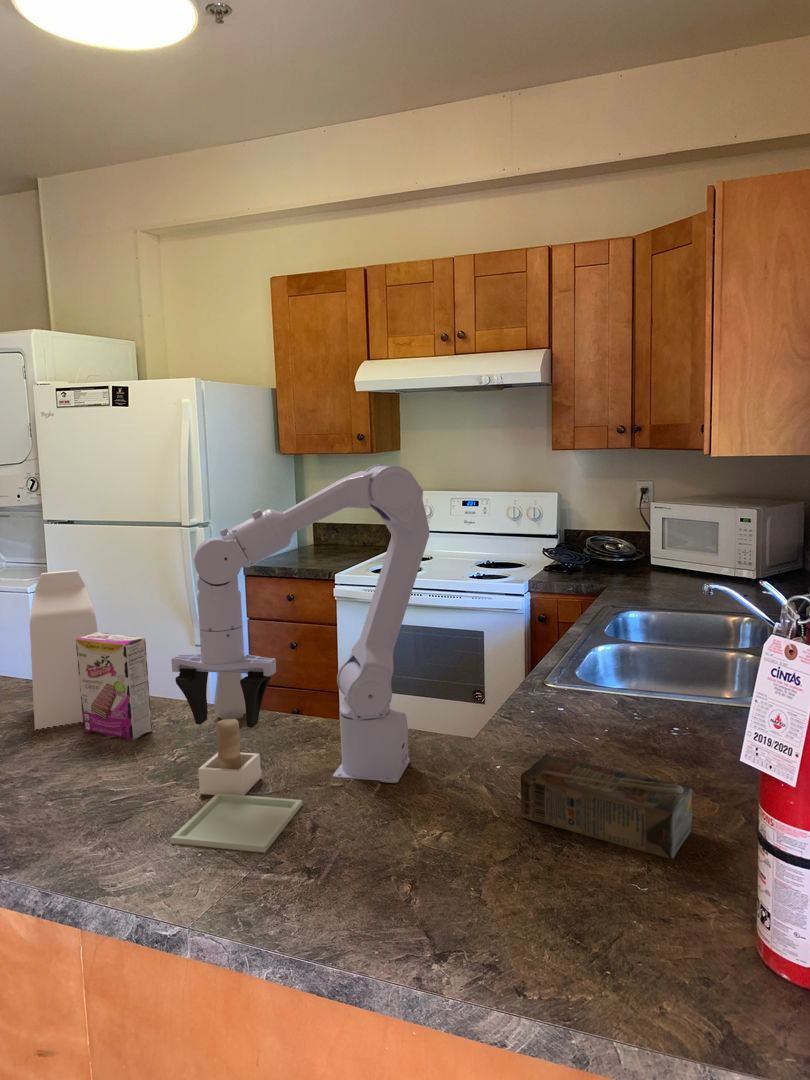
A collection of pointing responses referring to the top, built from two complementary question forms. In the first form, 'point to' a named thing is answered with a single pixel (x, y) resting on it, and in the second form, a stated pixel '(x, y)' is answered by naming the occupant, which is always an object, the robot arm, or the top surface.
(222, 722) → the dowel
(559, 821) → the beverage carton
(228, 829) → the tray
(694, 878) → the top surface
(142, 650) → the candy bar box
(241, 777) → the open box
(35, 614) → the milk
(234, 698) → the salt shaker
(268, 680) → the robot arm
